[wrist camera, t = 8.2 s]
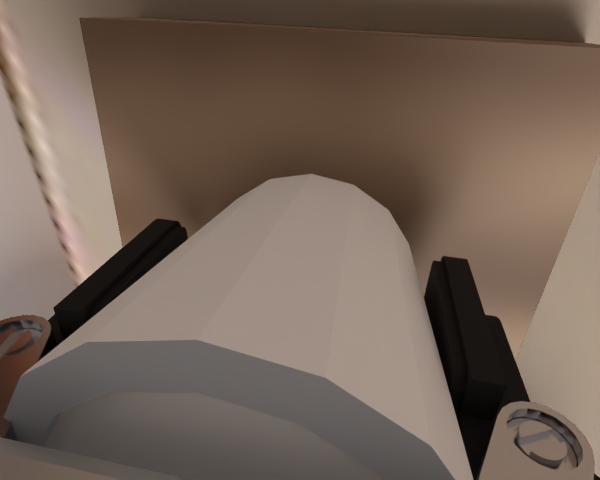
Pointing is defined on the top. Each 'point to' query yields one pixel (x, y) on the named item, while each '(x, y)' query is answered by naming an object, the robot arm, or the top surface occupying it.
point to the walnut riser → (358, 134)
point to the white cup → (260, 353)
